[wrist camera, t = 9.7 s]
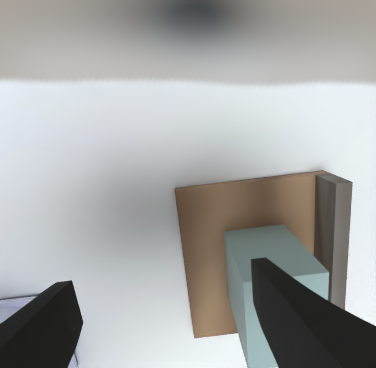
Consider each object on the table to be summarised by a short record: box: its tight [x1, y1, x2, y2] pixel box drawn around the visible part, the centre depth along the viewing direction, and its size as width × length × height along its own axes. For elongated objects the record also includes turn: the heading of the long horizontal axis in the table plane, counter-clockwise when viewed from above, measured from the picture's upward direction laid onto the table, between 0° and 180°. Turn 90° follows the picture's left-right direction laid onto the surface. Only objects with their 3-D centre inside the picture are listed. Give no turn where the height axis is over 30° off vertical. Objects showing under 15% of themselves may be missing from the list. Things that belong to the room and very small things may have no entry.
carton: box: [224, 224, 329, 368], centre depth 17 cm, size 5×6×6 cm
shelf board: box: [175, 171, 352, 338], centre depth 19 cm, size 11×13×3 cm
